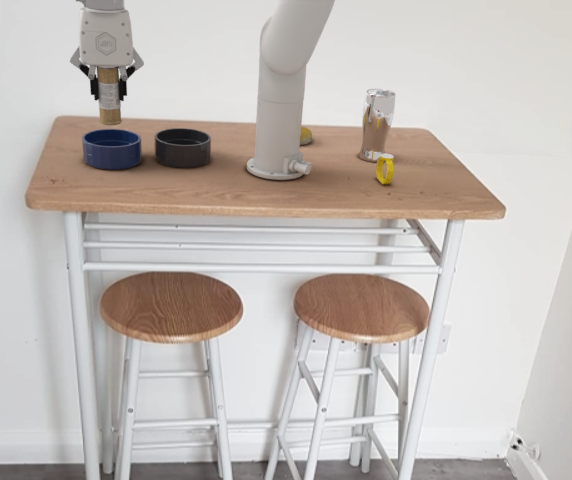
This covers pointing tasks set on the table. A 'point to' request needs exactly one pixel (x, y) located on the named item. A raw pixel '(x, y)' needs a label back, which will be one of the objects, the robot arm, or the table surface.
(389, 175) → the watch
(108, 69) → the sprinkles bottle
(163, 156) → the charcoal bowl
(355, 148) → the table surface
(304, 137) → the bread roll
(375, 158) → the beer glass
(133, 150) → the navy bowl
